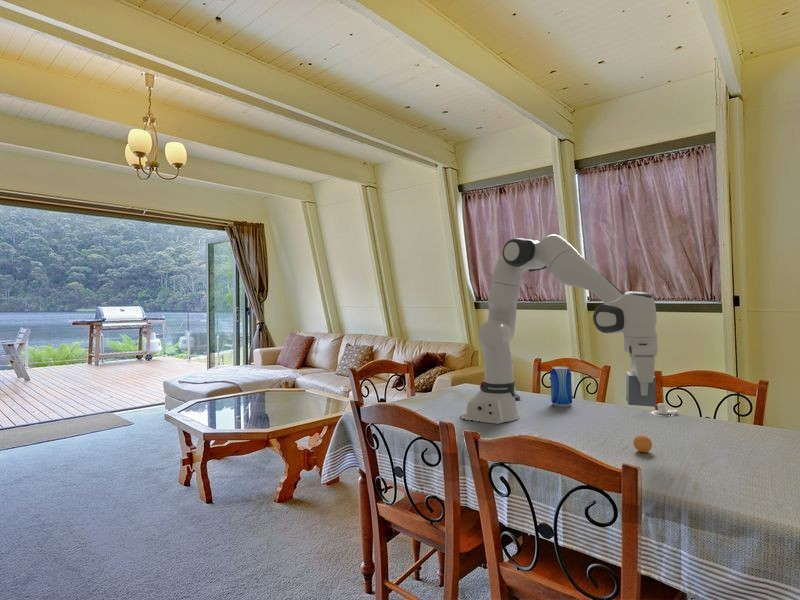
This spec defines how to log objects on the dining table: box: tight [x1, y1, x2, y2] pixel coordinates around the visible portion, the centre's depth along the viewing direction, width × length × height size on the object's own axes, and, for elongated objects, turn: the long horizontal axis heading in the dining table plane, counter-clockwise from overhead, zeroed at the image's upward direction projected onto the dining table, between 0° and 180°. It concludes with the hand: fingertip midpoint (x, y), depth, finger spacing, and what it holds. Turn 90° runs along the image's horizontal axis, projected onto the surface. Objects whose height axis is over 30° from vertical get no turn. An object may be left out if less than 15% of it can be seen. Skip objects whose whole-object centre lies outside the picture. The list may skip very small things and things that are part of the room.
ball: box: [633, 434, 653, 453], centre depth 138 cm, size 5×5×5 cm
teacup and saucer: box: [650, 402, 679, 417], centre depth 176 cm, size 9×8×4 cm
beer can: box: [549, 365, 573, 408], centre depth 195 cm, size 8×8×16 cm
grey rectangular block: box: [625, 371, 657, 408], centre depth 137 cm, size 7×7×9 cm
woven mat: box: [515, 392, 521, 401], centre depth 211 cm, size 10×11×2 cm
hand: (642, 391), depth 137 cm, fingers closed on grey rectangular block, 7 cm apart
